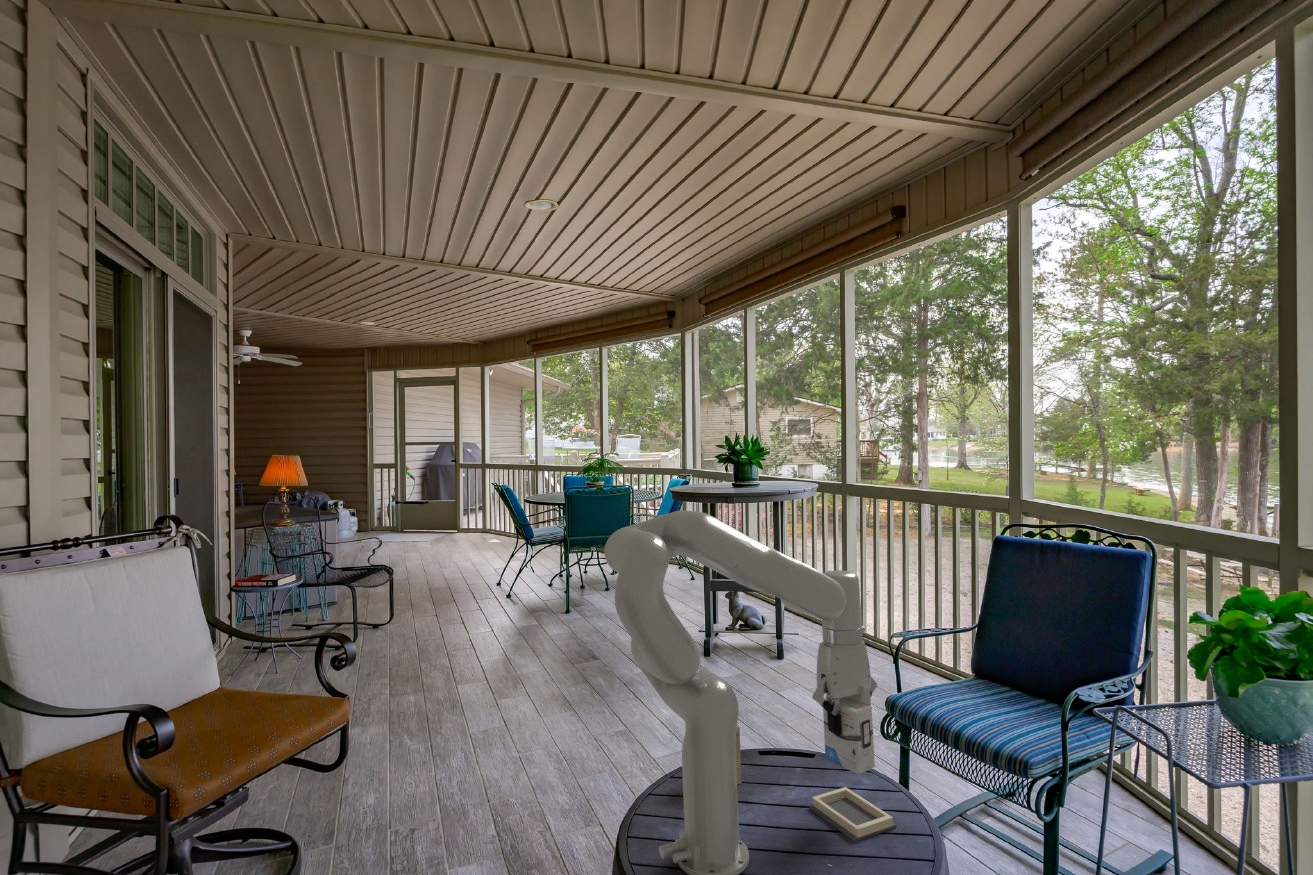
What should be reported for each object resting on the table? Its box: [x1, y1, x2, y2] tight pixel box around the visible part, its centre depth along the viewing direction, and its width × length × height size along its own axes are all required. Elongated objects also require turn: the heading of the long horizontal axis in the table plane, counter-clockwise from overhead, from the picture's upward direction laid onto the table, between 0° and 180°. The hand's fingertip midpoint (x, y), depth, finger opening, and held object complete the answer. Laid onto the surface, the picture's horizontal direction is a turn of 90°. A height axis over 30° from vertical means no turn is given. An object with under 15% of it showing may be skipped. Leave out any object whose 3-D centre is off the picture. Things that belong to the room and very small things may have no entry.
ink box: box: [822, 687, 876, 775], centre depth 124 cm, size 8×5×15 cm, turn 33°
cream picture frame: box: [808, 786, 897, 843], centre depth 123 cm, size 10×13×2 cm
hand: (847, 728), depth 124 cm, fingers closed on ink box, 5 cm apart
